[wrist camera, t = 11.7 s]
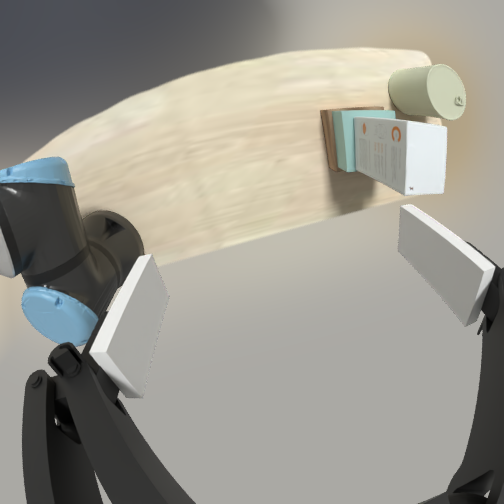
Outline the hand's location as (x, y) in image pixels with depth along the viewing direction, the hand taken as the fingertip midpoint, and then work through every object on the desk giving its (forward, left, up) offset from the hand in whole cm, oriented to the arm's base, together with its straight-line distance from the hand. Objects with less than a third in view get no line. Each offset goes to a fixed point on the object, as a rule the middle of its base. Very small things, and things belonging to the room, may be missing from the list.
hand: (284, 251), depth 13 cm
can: (+31, +9, -33) cm, 46 cm away
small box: (+18, +1, -25) cm, 31 cm away
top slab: (+18, +1, -29) cm, 34 cm away
